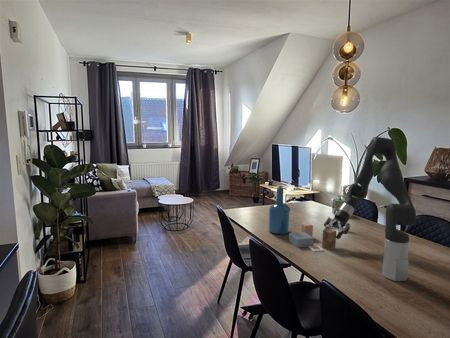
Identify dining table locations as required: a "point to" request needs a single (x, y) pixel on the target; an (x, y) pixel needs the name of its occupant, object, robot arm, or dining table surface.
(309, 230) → the terracotta block
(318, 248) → the tile
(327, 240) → the walnut block
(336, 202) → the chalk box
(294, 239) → the plinth
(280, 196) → the wine bottle
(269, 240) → the dining table surface
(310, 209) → the dining table surface
